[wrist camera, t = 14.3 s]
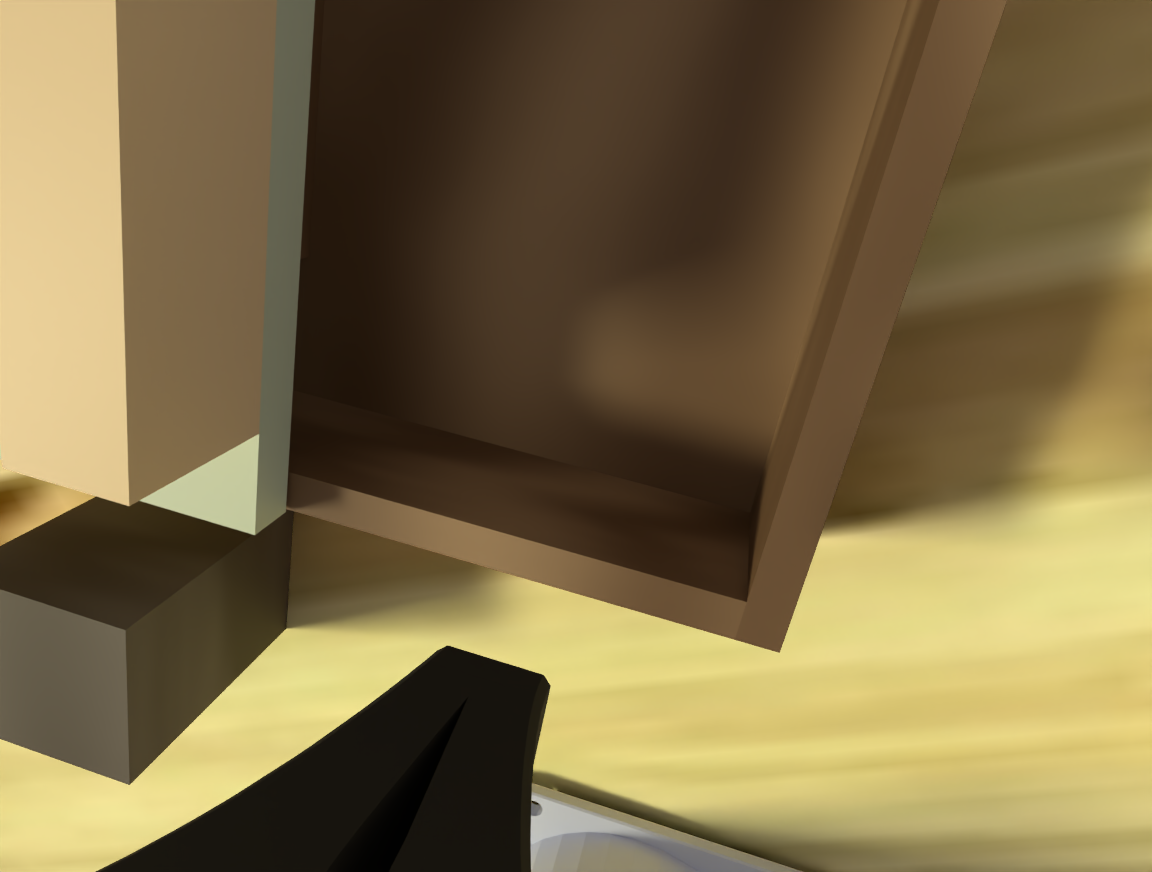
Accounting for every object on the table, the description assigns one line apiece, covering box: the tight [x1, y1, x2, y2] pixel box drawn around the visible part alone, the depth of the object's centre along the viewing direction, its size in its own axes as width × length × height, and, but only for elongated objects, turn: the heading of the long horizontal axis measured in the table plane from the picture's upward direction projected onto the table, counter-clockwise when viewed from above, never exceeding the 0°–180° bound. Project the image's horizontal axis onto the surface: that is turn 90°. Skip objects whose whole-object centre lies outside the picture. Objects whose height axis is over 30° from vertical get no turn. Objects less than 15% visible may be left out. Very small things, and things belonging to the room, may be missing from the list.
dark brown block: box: [0, 497, 294, 785], centre depth 19 cm, size 4×4×6 cm
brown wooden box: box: [286, 0, 1007, 653], centre depth 15 cm, size 18×14×4 cm
